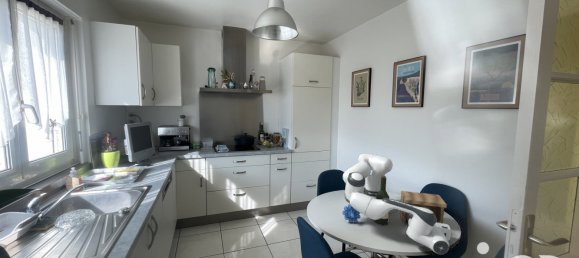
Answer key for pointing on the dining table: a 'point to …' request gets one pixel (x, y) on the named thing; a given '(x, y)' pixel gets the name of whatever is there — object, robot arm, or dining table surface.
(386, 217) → the wine bottle
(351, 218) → the blue knobby ball
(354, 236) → the dining table surface
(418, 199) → the cubby
